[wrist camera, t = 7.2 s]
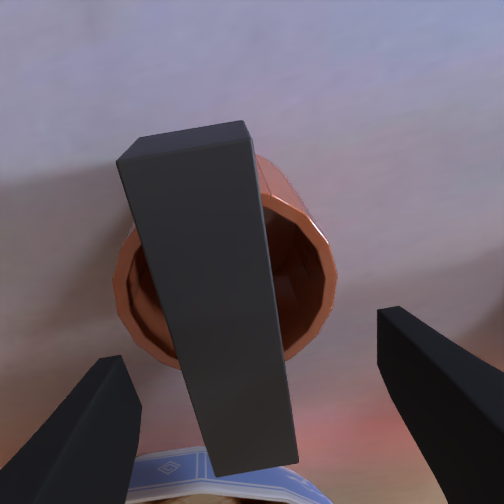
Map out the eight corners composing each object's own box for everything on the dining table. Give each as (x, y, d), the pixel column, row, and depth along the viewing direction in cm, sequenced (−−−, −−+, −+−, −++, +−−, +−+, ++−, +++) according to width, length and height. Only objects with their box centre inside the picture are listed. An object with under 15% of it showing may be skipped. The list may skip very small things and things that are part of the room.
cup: (308, 279, 22) (342, 358, 16) (165, 304, 22) (147, 393, 16) (294, 133, 18) (332, 168, 12) (121, 163, 18) (78, 212, 12)
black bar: (286, 399, 17) (299, 463, 14) (215, 412, 17) (215, 479, 14) (243, 119, 11) (252, 137, 9) (137, 137, 11) (113, 160, 9)
